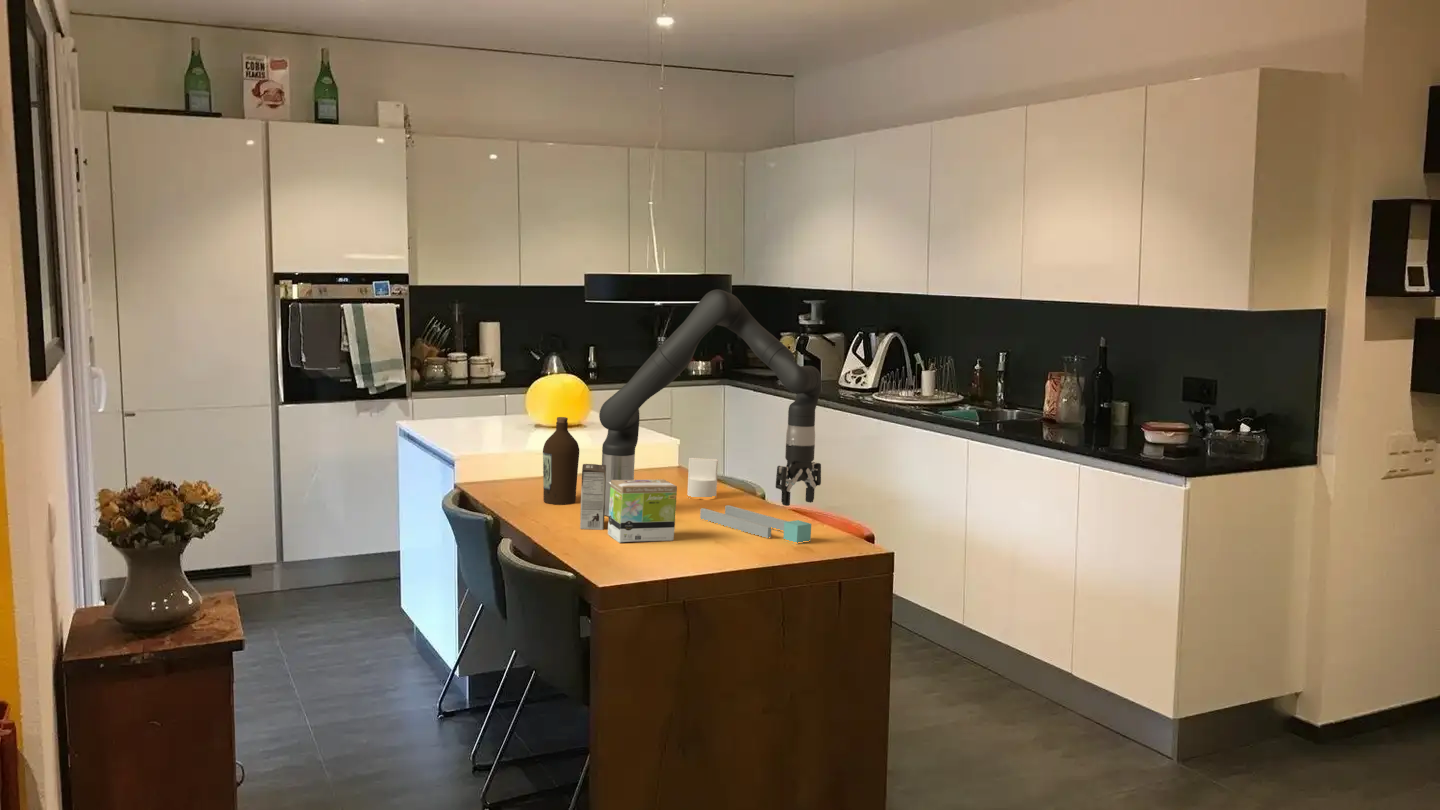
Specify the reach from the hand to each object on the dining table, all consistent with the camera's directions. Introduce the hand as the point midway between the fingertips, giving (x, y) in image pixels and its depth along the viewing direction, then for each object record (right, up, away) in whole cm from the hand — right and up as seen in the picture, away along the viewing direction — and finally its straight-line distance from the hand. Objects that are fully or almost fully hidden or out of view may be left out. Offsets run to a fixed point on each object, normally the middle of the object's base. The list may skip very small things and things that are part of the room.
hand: (797, 503), depth 300 cm
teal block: (0, -10, 0) cm, 10 cm away
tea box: (-41, -9, -4) cm, 42 cm away
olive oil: (-68, -3, +38) cm, 78 cm away
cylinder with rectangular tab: (-26, -3, +55) cm, 61 cm away
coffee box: (-55, -7, +7) cm, 56 cm away
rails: (-13, -8, +15) cm, 22 cm away
